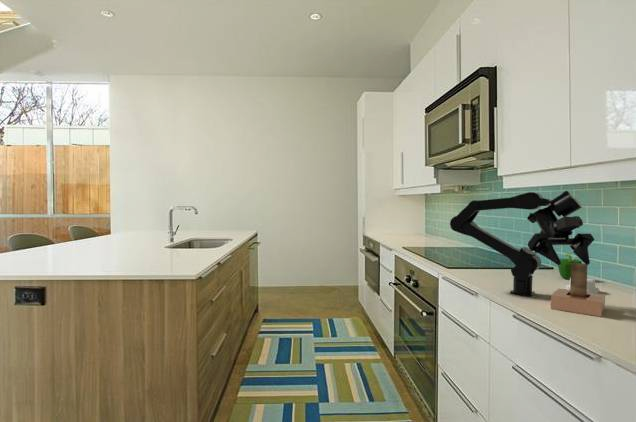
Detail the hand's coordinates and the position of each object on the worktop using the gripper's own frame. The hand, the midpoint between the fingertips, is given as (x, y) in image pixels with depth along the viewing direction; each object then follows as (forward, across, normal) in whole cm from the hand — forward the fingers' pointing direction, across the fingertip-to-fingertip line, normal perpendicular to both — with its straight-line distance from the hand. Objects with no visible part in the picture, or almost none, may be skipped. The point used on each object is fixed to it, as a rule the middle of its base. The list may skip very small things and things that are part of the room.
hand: (574, 264), depth 120 cm
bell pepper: (-21, +33, +39) cm, 55 cm away
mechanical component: (-5, +20, +24) cm, 32 cm away
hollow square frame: (+10, 0, +8) cm, 13 cm away
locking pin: (+10, 0, +8) cm, 13 cm away
